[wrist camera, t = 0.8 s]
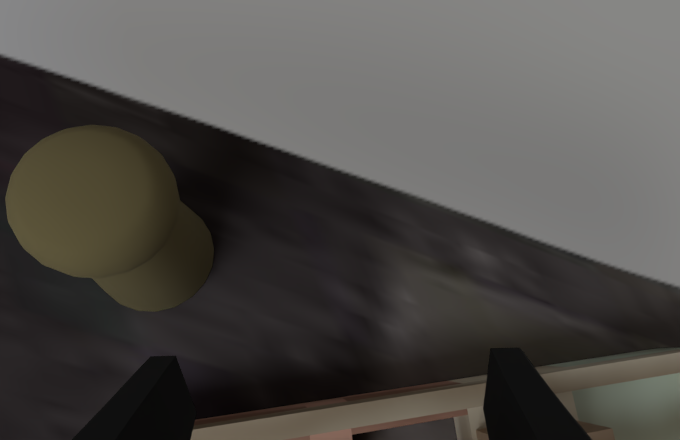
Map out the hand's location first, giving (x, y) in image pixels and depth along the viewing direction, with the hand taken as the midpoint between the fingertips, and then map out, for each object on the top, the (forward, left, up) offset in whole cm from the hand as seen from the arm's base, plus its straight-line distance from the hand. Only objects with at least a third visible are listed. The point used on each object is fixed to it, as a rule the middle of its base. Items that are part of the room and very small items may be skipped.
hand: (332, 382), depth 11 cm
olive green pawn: (+6, +7, -14) cm, 17 cm away
